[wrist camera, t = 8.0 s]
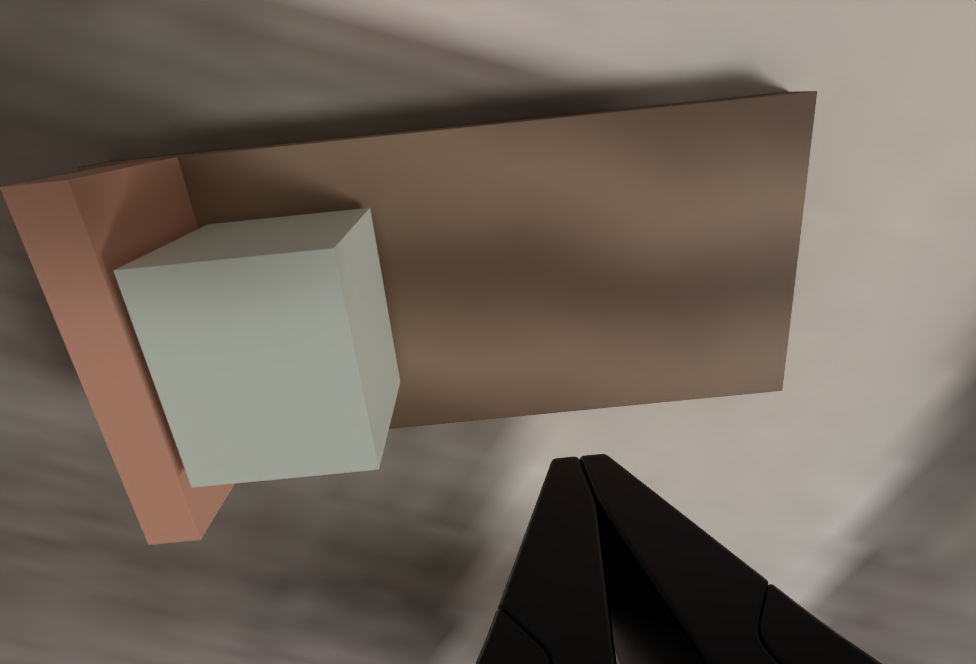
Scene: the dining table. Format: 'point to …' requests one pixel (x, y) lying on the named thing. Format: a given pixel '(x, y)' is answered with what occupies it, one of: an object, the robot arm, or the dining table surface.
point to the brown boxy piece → (466, 264)
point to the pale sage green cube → (269, 345)
